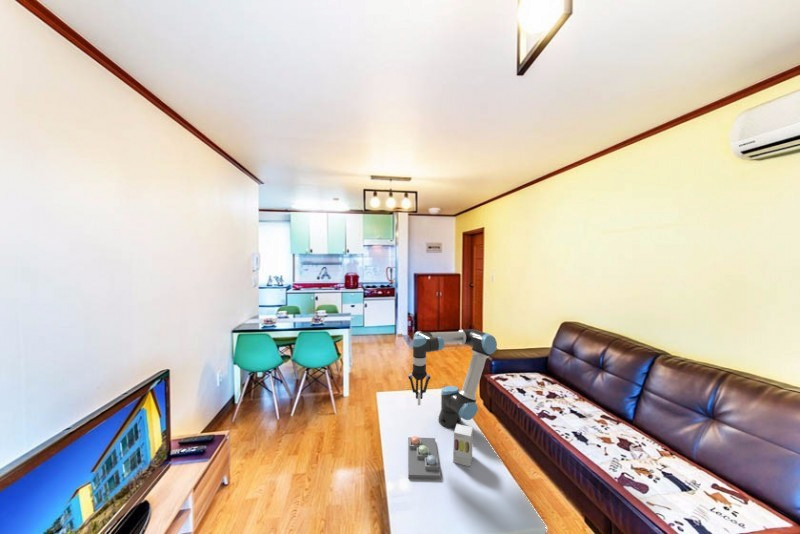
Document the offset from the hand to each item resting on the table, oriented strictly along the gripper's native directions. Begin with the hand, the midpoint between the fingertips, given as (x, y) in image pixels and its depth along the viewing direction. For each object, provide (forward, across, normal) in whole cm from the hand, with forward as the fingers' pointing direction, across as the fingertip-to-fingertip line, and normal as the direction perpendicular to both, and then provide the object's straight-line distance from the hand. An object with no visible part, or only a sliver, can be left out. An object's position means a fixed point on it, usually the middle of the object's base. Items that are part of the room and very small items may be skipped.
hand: (419, 403), depth 170 cm
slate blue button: (+24, -6, +16) cm, 30 cm away
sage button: (+24, -2, +8) cm, 25 cm away
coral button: (+24, +2, 0) cm, 24 cm away
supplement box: (+27, -24, +8) cm, 37 cm away
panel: (+26, -2, +8) cm, 28 cm away
